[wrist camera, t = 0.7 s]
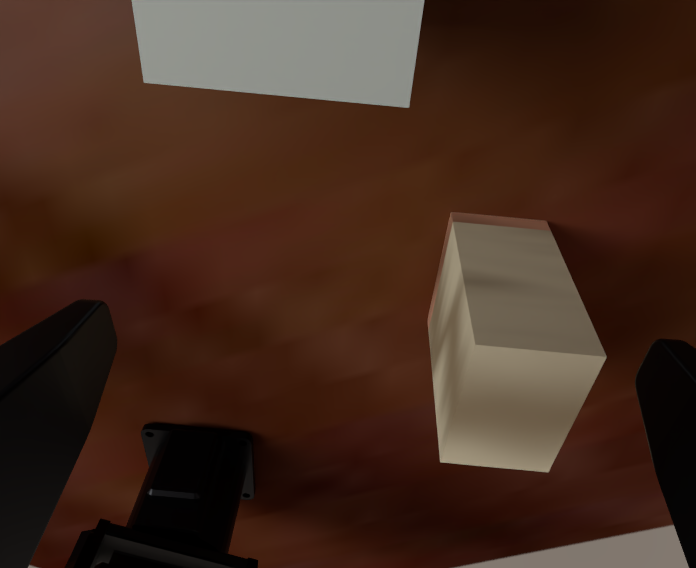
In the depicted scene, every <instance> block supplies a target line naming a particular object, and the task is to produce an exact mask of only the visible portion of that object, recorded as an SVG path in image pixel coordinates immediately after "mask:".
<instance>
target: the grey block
mask: <svg viewBox="0 0 696 568" xmlns="http://www.w3.org/2000/svg"><path fill="white" fill-rule="evenodd" d="M132 6H133V12H134V19H135V26H136V33H137V39H138V46H139V53H140V60H141V66H142V73H143V80H144V83H153V84H164V85H174V86H185V87H195V88H206V89H216V90H227V91H237V92H248V93H258V94H269V95H279V96H290V97H300V98H311V99H321V100H332V101H343V102H353V103H364V104H374V105H385V106H395V107H406V108H409V104H410V97H411V90H412V83H413V76H414V69H415V62H416V55H417V48H418V41H419V34H420V28H421V21H422V14H423V7H424V0H132Z"/></svg>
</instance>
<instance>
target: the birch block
mask: <svg viewBox="0 0 696 568" xmlns="http://www.w3.org/2000/svg"><path fill="white" fill-rule="evenodd" d="M428 330H429V341H430V353H431V364H432V375H433V386H434V397H435V409H436V420H437V431H438V442H439V454H440V462H443V463H454V464H464V465H475V466H486V467H497V468H507V469H518V470H529V471H540V472H549V470H550V468H551V466H552V464H553V462H554V460H555V458H556V456H557V454H558V452H559V450H560V448H561V446H562V444H563V442H564V440H565V438H566V436H567V434H568V432H569V430H570V428H571V426H572V424H573V423H574V421H575V419H576V417H577V415H578V413H579V411H580V409H581V407H582V405H583V403H584V401H585V399H586V397H587V395H588V393H589V391H590V389H591V387H592V385H593V383H594V381H595V379H596V377H597V375H598V373H599V371H600V369H601V367H602V365H603V363H604V362H605V360H606V358H607V356H606V354H605V352H604V350H603V347H602V345H601V343H600V341H599V338H598V336H597V334H596V332H595V329H594V327H593V325H592V323H591V320H590V318H589V316H588V314H587V311H586V309H585V307H584V305H583V302H582V300H581V298H580V295H579V293H578V291H577V289H576V286H575V284H574V282H573V280H572V277H571V275H570V273H569V271H568V268H567V266H566V264H565V262H564V259H563V257H562V255H561V253H560V250H559V248H558V246H557V244H556V241H555V239H554V237H553V235H552V232H551V230H550V228H549V226H548V223H547V221H543V220H532V219H522V218H511V217H501V216H490V215H479V214H469V213H458V212H451V214H450V219H449V223H448V228H447V232H446V237H445V242H444V246H443V251H442V255H441V260H440V265H439V269H438V274H437V278H436V283H435V288H434V292H433V297H432V302H431V306H430V311H429V315H428Z"/></svg>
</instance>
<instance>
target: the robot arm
mask: <svg viewBox="0 0 696 568" xmlns="http://www.w3.org/2000/svg"><path fill="white" fill-rule="evenodd" d="M116 349H117V336H116V332H115V329H114V325H113V322H112V318H111V315H110V311H109V308H108V306H107V304H106V303H105V302H103V301H100V300H86V299H82V300H77V301H75V302H73V303H72V304H70V305H68V306H67V307H65V308H63V309H62V310H60V311H58V312H56V313H55V314H53V315H51V316H50V317H48V318H46V319H45V320H43V321H41V322H39V323H38V324H36V325H34V326H33V327H31V328H29V329H28V330H26V331H24V332H22V333H21V334H19V335H17V336H16V337H14V338H12V339H11V340H9V341H7V342H5V343H4V344H2V345H0V568H28V566H29V564H30V562H31V559H32V557H33V555H34V553H35V551H36V548H37V546H38V544H39V542H40V540H41V537H42V535H43V533H44V531H45V529H46V527H47V524H48V522H49V520H50V518H51V516H52V513H53V511H54V509H55V507H56V505H57V503H58V500H59V498H60V496H61V494H62V492H63V489H64V487H65V485H66V483H67V481H68V479H69V476H70V474H71V472H72V470H73V468H74V465H75V463H76V461H77V459H78V457H79V455H80V452H81V450H82V448H83V446H84V444H85V441H86V439H87V437H88V434H89V432H90V429H91V426H92V424H93V421H94V418H95V415H96V412H97V409H98V406H99V403H100V400H101V396H102V393H103V390H104V387H105V384H106V381H107V378H108V375H109V372H110V369H111V366H112V363H113V359H114V356H115V353H116ZM635 387H636V392H637V397H638V401H639V405H640V409H641V414H642V418H643V422H644V427H645V431H646V435H647V440H648V444H649V448H650V453H651V457H652V461H653V464H654V468H655V472H656V475H657V478H658V481H659V484H660V487H661V490H662V493H663V496H664V498H665V501H666V504H667V507H668V510H669V512H670V515H671V518H672V521H673V524H674V526H675V529H676V532H677V535H678V538H679V541H680V543H681V546H682V549H683V552H684V555H685V557H686V560H687V563H688V566H689V568H696V349H695V348H694V347H692V346H691V345H689V344H688V343H686V342H685V341H682V340H672V339H658V340H656V341H654V342H653V343H652V345H651V346H650V348H649V350H648V352H647V354H646V356H645V358H644V360H643V362H642V364H641V366H640V368H639V370H638V371H637V374H636V378H635ZM141 436H142V440H143V444H144V448H145V452H146V456H147V460H148V464H149V469H148V472H147V474H146V477H145V479H144V482H143V484H142V487H141V490H140V492H139V495H138V497H137V500H136V502H135V505H134V507H133V510H132V513H131V515H130V518H129V520H128V523H127V525H126V527H124V526H120V525H116V524H112V523H110V522H111V521H109V520H105V519H100V520H99V523H98V525H97V527H96V529H93V530H88V531H82V532H81V534H80V536H79V539H78V541H77V543H76V545H75V547H74V550H73V552H72V554H71V556H70V558H69V560H68V562H67V564H66V566H65V568H258V560H256V559H252V558H248V559H245V558H241V557H238V556H234V555H230V554H228V551H229V547H230V542H231V538H232V534H233V529H234V525H235V521H236V516H237V512H238V508H239V503H240V499H244V500H250V499H253V498H254V494H255V476H254V456H253V438H252V436H251V435H250V434H248V433H244V432H235V431H224V430H213V429H203V428H192V427H181V426H171V425H160V424H145V425H144V426H143V429H142V431H141Z"/></svg>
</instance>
